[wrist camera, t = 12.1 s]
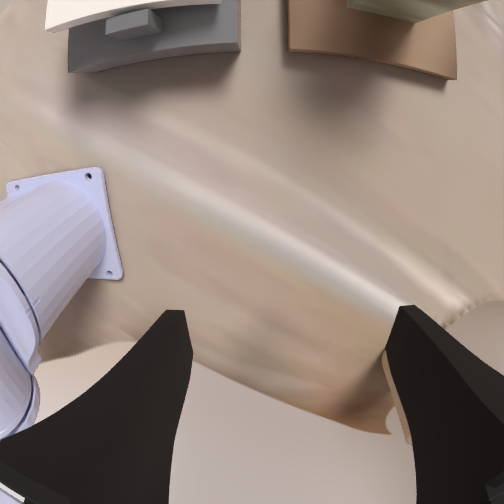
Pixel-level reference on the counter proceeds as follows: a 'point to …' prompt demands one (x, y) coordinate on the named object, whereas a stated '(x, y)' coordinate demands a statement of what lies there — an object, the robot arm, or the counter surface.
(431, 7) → the block
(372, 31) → the walnut board
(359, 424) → the counter surface
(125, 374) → the robot arm
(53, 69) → the counter surface
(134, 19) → the switch base
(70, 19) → the rocker
